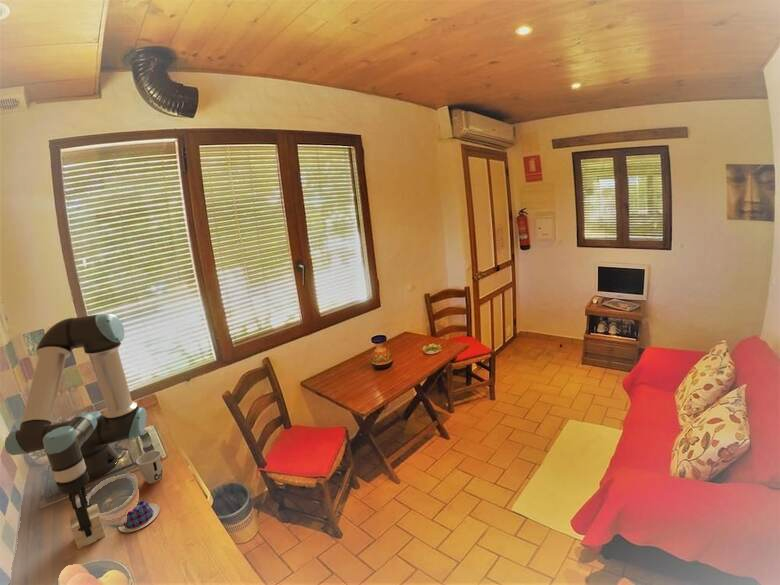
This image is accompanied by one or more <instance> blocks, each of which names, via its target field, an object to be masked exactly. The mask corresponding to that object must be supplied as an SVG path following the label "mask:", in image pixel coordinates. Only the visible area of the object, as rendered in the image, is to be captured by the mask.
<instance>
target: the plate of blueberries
mask: <svg viewBox="0 0 780 585" xmlns="http://www.w3.org/2000/svg"><path fill="white" fill-rule="evenodd" d="M137 502H138V504H137V506H136V507H135V508H134V509H133V510H132V511H129V512H128V514H127V522H126V525H125V526H123V527H118V528H117V529H118V530H119V532H122V533H131V532H132V533H133V532H135V531H139V530H140V529H143V528H144V527H146V526H148V525H149V524H150V523H152V522H153V521H154V520H155V519H156V518H157V516H158V515H159V513H160V511H161V510H160V506H159V504H157V503H148V502H147V501H146V500H139V501H137Z"/></svg>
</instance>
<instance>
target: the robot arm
mask: <svg viewBox="0 0 780 585" xmlns="http://www.w3.org/2000/svg"><path fill="white" fill-rule="evenodd" d="M124 339H125V328H124V325H123V323H122V321H121V319H120V318H119V316H116V315H115V314H113V313H98V314H93V315H91V314H90V315H85V316H79V317H69V318H65V319H63V320H60V321H58V322H57V323H55V324H53V325H52V326H51V327H50V328H48V329H47V331H45V333H44V335H43V336H42V337H41V339H40V341H39V342H38V345H37V347H36V350H35V355H36V356H37V361H36V366H35V369H34V372H33V377H32V381H31V385H30V388H29V391H28V392H29V393H28V395H27V400H26V404H25V406H24V407H25V408H24V412H23V415H22V418H21V423H20V426H19V429H16V430H15V431H11V432H10V433H9V434H7V435H8V436H6V438H5V440H4V448H5V451H6V453H7V454H9V455H11V456H18V455H19V456H20V455H24V454H30V453H34V452H38V451H42V450H43V451H44V452H45V454H46V457H47V459H48V462H49V464H50V468H51V471H52V472H50V476H52V477H53V476H54V480H55V482H56V487H57V489H58V492H59V494H61V495H68V499H69V501H70V502H71V505H72V506H71V507H72V509H73V510H74V512H75V513H76V516H77V519H78V522H79V525H80V528H79V529H78V531H81V532H82V534H83V537H84V540H85V543H86V546H85V547H87V546H89V545H91V544H93V543H94V542H95V543H96V542H97V541H98V540H97V538H96V535H95V532H94V529H93V525H92V523H91V522H90V518H89V515H88V511H87V508H88V507H90V506H92V504H91V503H90V504H88V503H89V501H88V499H87V497H86V496H87V493H86V487H85V486H86V485H87V484H88V483H89V481H90V479H89V478H92V479H94V478H93V477H95V478H97V477H99V475H100V476H102V475H104V474H106V473H107V472H106V471H108V470H109V471H111V470H112V469H113V468H114V467H115V466H116V465H115V463H116V462H117V460H118V457H119V453H118V452H117V451H116V450H115V449H114V448H113V447H112V445H110V444H112V443H116V442H121V441H127V440H132V439H134V438H135V439H136V438H138V437H141V436H142V435H143V433H144V432H145V429H146V425H147V410H146V409H145V407H139V405H138V402H137V401H133V400H132V396H131V393H130V388H129V385H128V382H127V379H126V375H125V371H124V370H125V369H124V368H123V367H124V366H123V363H122V360H121V356H120V352H119V348H120V346H121V345H122V343H121V342H122V341H124ZM79 348H81V349H82V348H83V352H84V354H86V355H89V356H90V358H91V359H92V364H93V367H94V370H95V374H96V378H97V380H98V383H99V387H100V390H101V394H102V397H103V401H104V403H105V407H106V410H105V411H104V412H103V415H102V413H101V412H100V411H97V410H96V411H95V410H94V411H90V412H84V413H83V412H82V413H80V414H78V415H75V416H74V417H73V418H71V420H66V421H61V422H57V423H56V422H55V423H52V421H53V418H54V417H53V416H54V411H55V408H56V403H57V398H58V395H59V390H60V386H61V382H62V381H61V380H62V377H63V374H64V368H65V363H66V359H68V358H69V357H70V356H71V352H72V350H74V349H79ZM114 465H115V466H114ZM113 466H114V467H113ZM112 467H113V468H112ZM111 468H112V469H111ZM110 469H111V470H110ZM109 471H108V472H109ZM105 472H106V473H105ZM103 473H104V474H103ZM101 474H102V475H101ZM96 476H97V477H96ZM75 513H74V514H75Z"/></svg>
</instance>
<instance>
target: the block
mask: <svg viewBox="0 0 780 585" xmlns="http://www.w3.org/2000/svg"><path fill="white" fill-rule="evenodd" d="M87 511H88V515H89V518H90V522H91V523H92V525H93V529H94V532H95V535H96V538H97V539H98V540H100V539H102V538H103V537H106V532H105V525H104V521H103V519H101V518H102V517H101V518H100V515H101V513H100V509H99V506H98V504H97V503H95V504H93V505H91V506H90V507H88V508H87ZM99 513H100V515H99ZM69 520H70V530H71V533H72V536H73V538H74V541H75V545H76V547H77V550H80V549H82V548H84V547H87V546H86V543H85V540H84V537H83V534H82V532H81V531H78V529H79V528H80V525H79V522H78V519H77V516H76V513H73V514H72V515H69Z"/></svg>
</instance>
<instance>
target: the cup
mask: <svg viewBox="0 0 780 585" xmlns="http://www.w3.org/2000/svg"><path fill="white" fill-rule="evenodd" d="M136 465H137V467H138V471H139V472H140V475H141V476H142V477H143V479H144V481H145V482H146V483H147V484H156V483H157V482H159V481H160V480H161V479H162V478H163V472H164V470H163V469H164V468H163V458H162V452H161V451H160V450H157V449H155V450H150V451H147V452H144V453H143V454H141V455H140V456H138V457H137V459H136Z"/></svg>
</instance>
